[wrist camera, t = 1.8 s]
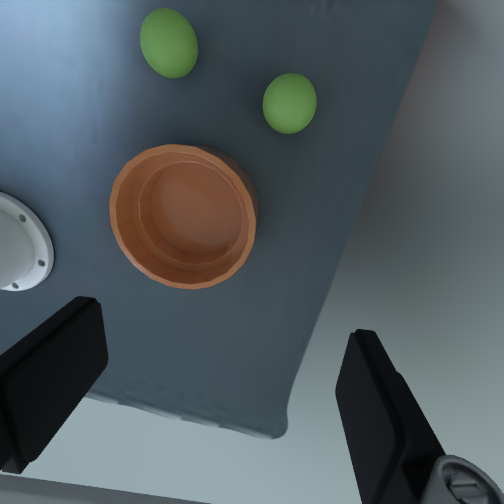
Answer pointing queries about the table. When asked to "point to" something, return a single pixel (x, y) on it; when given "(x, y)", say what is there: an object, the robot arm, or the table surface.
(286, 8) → the table surface
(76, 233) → the table surface
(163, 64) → the pea ball
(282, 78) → the pea ball
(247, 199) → the bowl
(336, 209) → the table surface
